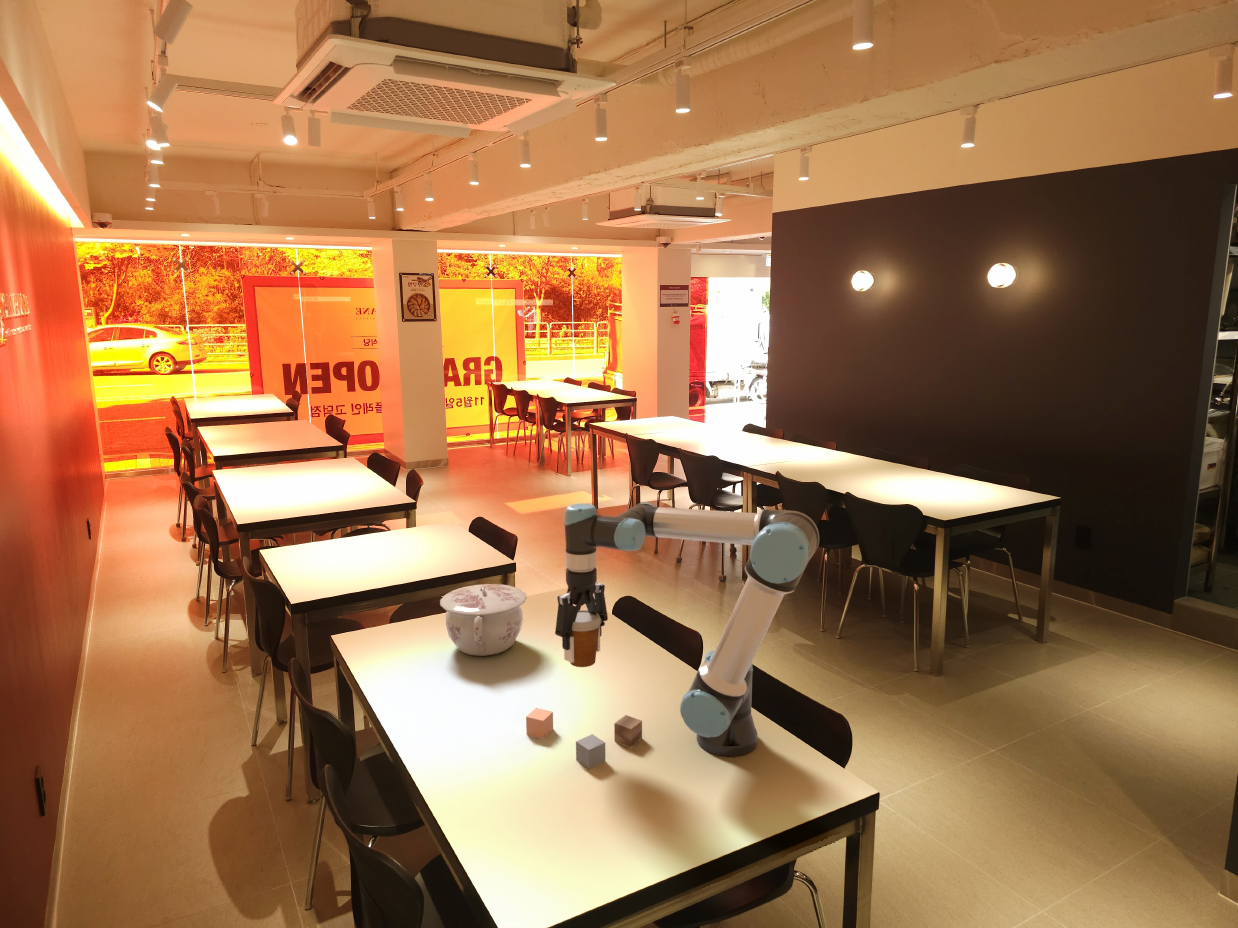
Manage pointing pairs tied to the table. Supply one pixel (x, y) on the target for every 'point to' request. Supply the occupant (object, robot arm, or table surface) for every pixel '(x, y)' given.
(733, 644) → the robot arm
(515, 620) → the chamber pot
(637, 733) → the walnut cube
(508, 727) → the table surface
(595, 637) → the disposable coffee cup
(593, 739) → the slate grey cube
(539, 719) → the terracotta cube
